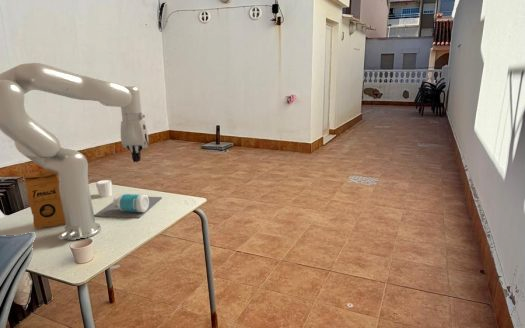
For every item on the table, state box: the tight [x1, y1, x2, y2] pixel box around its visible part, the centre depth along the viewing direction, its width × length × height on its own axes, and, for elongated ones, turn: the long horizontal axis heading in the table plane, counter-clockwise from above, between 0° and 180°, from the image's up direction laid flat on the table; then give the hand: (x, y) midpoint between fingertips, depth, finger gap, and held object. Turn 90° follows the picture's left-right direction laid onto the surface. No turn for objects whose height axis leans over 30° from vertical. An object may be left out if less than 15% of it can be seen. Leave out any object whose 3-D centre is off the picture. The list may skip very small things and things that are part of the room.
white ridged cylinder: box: [95, 179, 113, 198], centre depth 165 cm, size 7×7×7 cm
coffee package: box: [23, 170, 66, 230], centre depth 133 cm, size 10×12×22 cm
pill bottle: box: [112, 193, 149, 212], centre depth 144 cm, size 8×7×14 cm
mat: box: [94, 196, 163, 219], centre depth 151 cm, size 22×20×1 cm
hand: (136, 161), depth 144 cm, fingers closed
